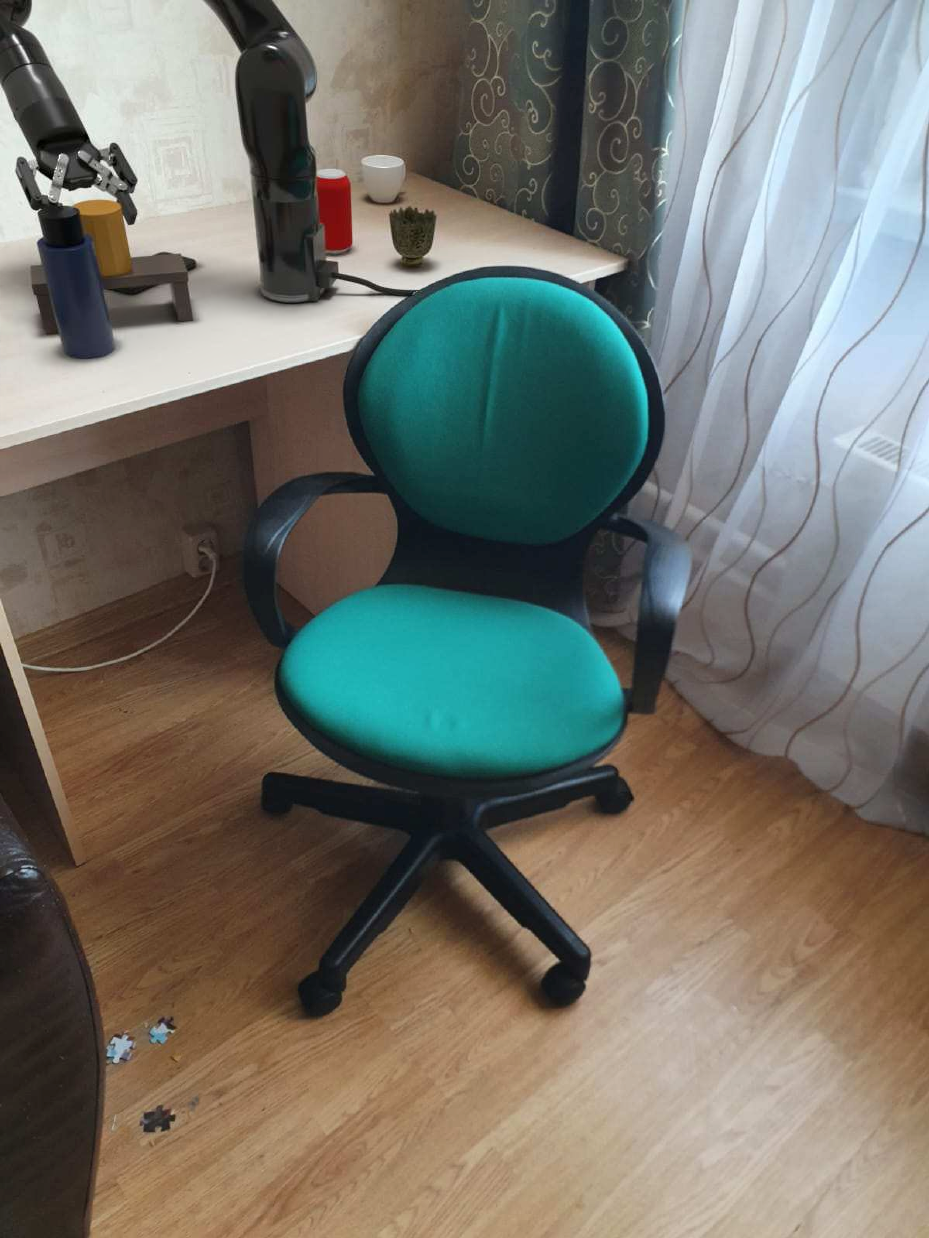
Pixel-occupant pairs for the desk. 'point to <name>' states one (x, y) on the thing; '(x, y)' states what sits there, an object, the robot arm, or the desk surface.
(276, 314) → the desk surface
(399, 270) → the desk surface
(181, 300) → the small brown bench
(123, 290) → the phone
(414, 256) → the cup
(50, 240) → the flask
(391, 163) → the cup
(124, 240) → the cap
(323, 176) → the beverage can
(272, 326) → the desk surface
